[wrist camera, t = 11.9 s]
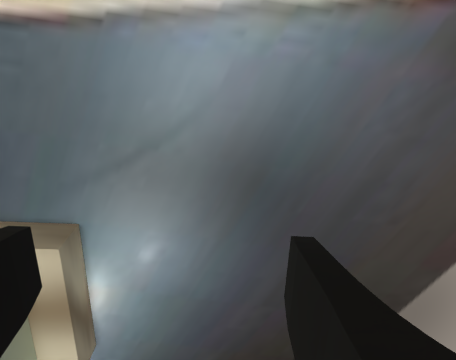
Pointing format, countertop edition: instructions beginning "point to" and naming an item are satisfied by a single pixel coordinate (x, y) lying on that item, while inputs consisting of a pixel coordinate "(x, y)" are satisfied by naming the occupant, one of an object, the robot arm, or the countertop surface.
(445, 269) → the countertop surface
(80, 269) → the maple block
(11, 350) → the green cube
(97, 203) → the countertop surface
